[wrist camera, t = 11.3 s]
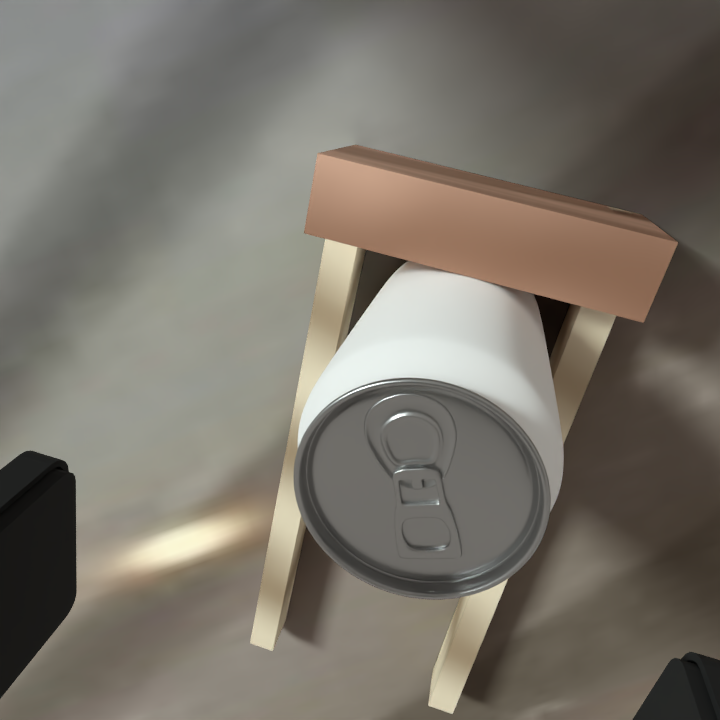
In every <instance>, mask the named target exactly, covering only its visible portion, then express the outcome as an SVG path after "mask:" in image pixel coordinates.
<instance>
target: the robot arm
mask: <svg viewBox="0 0 720 720" xmlns="http://www.w3.org/2000/svg"><path fill="white" fill-rule="evenodd" d="M75 597H76V480H75V476H74V474H73V473H70V472H69V470H68V465H67V463H66V462H65V461H63V460H60V459H57V458H53V457H50V456H47V455H43V454H40V453H37V452H34V451H26V452H24V453H22V454H20V455H19V456H18V457H16V458H15V459H14V460H12V461H11V462H10V463H9V464H7V465H6V466H5V467H3V468H2V469H1V470H0V698H1V697H2V696H3V694H4V693H5V692H6V691H7V690H8V688H9V687H10V686H11V685H12V683H13V682H14V681H15V680H16V678H17V677H18V676H19V675H20V673H21V672H22V671H23V670H24V668H25V667H26V666H27V665H28V663H29V662H30V661H31V660H32V659H33V657H34V656H35V655H36V654H37V652H38V651H39V650H40V649H41V647H42V646H43V645H44V644H45V642H46V641H47V640H48V639H49V637H50V636H51V635H52V634H53V632H54V631H55V630H56V629H57V628H58V626H59V625H60V624H61V623H62V621H63V620H64V619H65V618H66V616H67V615H68V613H69V612H70V610H71V608H72V606H73V604H74V601H75ZM633 720H720V660H717V659H714V658H710V657H707V656H704V655H700V654H697V653H693V652H689V653H687V654H685V655H684V657H683V658H682V659H677V658H674V659H672V660H671V661H670V662H669V663H668V665H667V666H666V668H665V670H664V671H663V673H662V674H661V676H660V677H659V679H658V680H657V682H656V684H655V685H654V687H653V688H652V690H651V691H650V693H649V695H648V696H647V698H646V699H645V701H644V702H643V704H642V706H641V707H640V709H639V710H638V712H637V713H636V715H635V717H634V718H633Z"/></svg>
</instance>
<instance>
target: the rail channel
mask: <svg viewBox="0 0 720 720" xmlns="http://www.w3.org/2000/svg"><path fill="white" fill-rule="evenodd" d="M304 233H305V234H309V235H313V236H317V237H320V238H324V239H325V244H324V249H323V255H322V260H321V265H320V271H319V276H318V281H317V287H316V292H315V298H314V303H313V308H312V314H311V319H310V324H309V330H308V335H307V340H306V346H305V351H304V357H303V362H302V367H301V373H300V378H299V383H298V389H297V394H296V400H295V405H294V410H293V416H292V421H291V426H290V432H289V437H288V442H287V448H286V453H285V459H284V464H283V469H282V475H281V480H280V485H279V491H278V496H277V501H276V507H275V512H274V518H273V523H272V528H271V534H270V539H269V544H268V550H267V555H266V561H265V566H264V571H263V577H262V582H261V587H260V593H259V598H258V603H257V609H256V614H255V620H254V625H253V630H252V636H251V641H250V643H251V644H254V645H257V646H260V647H263V648H265V649H268V650H271V651H273V649H274V647H275V644H276V642H277V640H278V637H279V635H280V633H281V630H282V628H283V626H284V623H285V621H286V617H287V612H288V608H289V603H290V599H291V594H292V589H293V585H294V580H295V575H296V571H297V566H298V562H299V557H300V552H301V548H302V543H303V538H304V534H305V529H306V525H305V523H304V521H303V519H302V516H301V514H300V511H299V508H298V505H297V501H296V497H295V491H294V481H293V474H294V463H295V458H296V453H297V450H298V430H299V424H300V419H301V415H302V412H303V409H304V407H305V404H306V402H307V399H308V397H309V395H310V393H311V391H312V389H313V387H314V386H315V384H316V382H317V381H318V379H319V378H320V376H321V374H322V373H323V371H324V370H325V368H326V367H327V365H328V364H329V362H330V361H331V359H332V358H333V357H334V355H335V354H336V352H337V351H338V349H339V348H340V346H341V345H342V344H343V342H344V341H345V339H346V338H347V335H348V330H349V326H350V321H351V316H352V312H353V307H354V303H355V298H356V293H357V289H358V284H359V279H360V275H361V270H362V266H363V261H364V256H365V252H366V250H370V251H374V252H377V253H381V254H385V255H389V256H392V257H396V258H400V259H404V260H408V261H411V262H415V263H419V264H423V265H427V266H430V267H434V268H438V269H442V270H446V271H449V272H453V273H457V274H461V275H464V276H468V277H472V278H476V279H480V280H483V281H487V282H491V283H495V284H499V285H502V286H506V287H510V288H514V289H518V290H521V291H525V292H529V293H533V294H536V295H540V296H544V297H548V298H552V299H555V300H559V301H563V302H567V303H570V305H569V308H568V311H567V314H566V316H565V319H564V322H563V324H562V327H561V330H560V332H559V335H558V338H557V340H556V343H555V346H554V348H553V351H552V354H551V356H550V359H549V362H550V368H551V373H552V379H553V384H554V390H555V396H556V401H557V407H558V413H559V419H560V426H561V432H562V441H563V444H564V442H565V439H566V437H567V435H568V432H569V430H570V427H571V425H572V422H573V420H574V418H575V415H576V413H577V410H578V408H579V405H580V403H581V400H582V398H583V396H584V393H585V391H586V388H587V386H588V383H589V381H590V379H591V376H592V374H593V371H594V369H595V366H596V364H597V362H598V359H599V357H600V354H601V352H602V349H603V347H604V345H605V342H606V340H607V337H608V335H609V332H610V330H611V328H612V325H613V323H614V320H615V318H616V316H620V317H624V318H627V319H631V320H635V321H639V322H643V323H644V321H645V318H646V316H647V314H648V311H649V309H650V307H651V305H652V302H653V300H654V298H655V295H656V293H657V291H658V288H659V286H660V284H661V281H662V279H663V277H664V275H665V272H666V270H667V268H668V265H669V263H670V261H671V258H672V256H673V254H674V251H675V249H676V247H677V245H678V242H677V241H676V240H674V239H673V238H672V237H671V236H669V235H668V234H667V233H665V232H664V231H663V230H661V229H660V228H659V227H657V226H656V225H655V224H653V223H652V222H651V221H650V220H648V219H647V218H646V217H644V216H643V215H642V214H638V213H634V212H630V211H626V210H622V209H618V208H613V207H609V206H605V205H601V204H597V203H593V202H589V201H585V200H581V199H576V198H572V197H568V196H564V195H560V194H556V193H552V192H548V191H544V190H540V189H535V188H531V187H527V186H523V185H519V184H515V183H511V182H507V181H503V180H498V179H494V178H490V177H486V176H482V175H478V174H474V173H470V172H466V171H462V170H457V169H453V168H449V167H445V166H441V165H437V164H433V163H429V162H425V161H420V160H416V159H412V158H408V157H404V156H400V155H396V154H392V153H388V152H383V151H379V150H375V149H371V148H367V147H363V146H359V145H352V146H348V147H343V148H339V149H335V150H330V151H326V152H321V153H318V154H317V160H316V166H315V172H314V178H313V184H312V189H311V195H310V201H309V207H308V213H307V219H306V225H305V230H304ZM507 580H508V579H507ZM507 580H505V581H503V582H502V583H500V584H498V585H496V586H494V587H492V588H490V589H488V590H485V591H482V592H480V593H476V594H473V595H469V596H465V597H460V600H459V602H458V605H457V608H456V610H455V613H454V616H453V618H452V621H451V624H450V626H449V629H448V632H447V634H446V637H445V640H444V642H443V645H442V648H441V650H440V653H439V656H438V658H437V661H436V664H435V666H434V669H433V673H432V681H431V689H430V696H429V704H428V706H431V707H434V708H437V709H440V710H442V711H445V712H448V713H451V714H453V712H454V709H455V707H456V704H457V702H458V699H459V697H460V695H461V692H462V690H463V687H464V685H465V682H466V680H467V678H468V675H469V673H470V670H471V668H472V665H473V663H474V661H475V658H476V656H477V653H478V651H479V648H480V646H481V644H482V641H483V639H484V636H485V634H486V631H487V629H488V627H489V624H490V622H491V619H492V617H493V614H494V612H495V610H496V607H497V605H498V602H499V600H500V597H501V595H502V593H503V590H504V588H505V585H506V583H507Z"/></svg>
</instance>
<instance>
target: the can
mask: <svg viewBox="0 0 720 720" xmlns="http://www.w3.org/2000/svg"><path fill="white" fill-rule="evenodd" d="M563 463H564V451H563V441H562V432H561V426H560V419H559V413H558V407H557V401H556V396H555V390H554V384H553V379H552V373H551V368H550V362H549V357H548V351H547V346H546V340H545V335H544V330H543V325H542V320H541V316H540V311H539V308H538V304H537V301H536V299H535V296H534V294H533V293H529V292H525V291H521V290H518V289H514V288H510V287H506V286H502V285H499V284H495V283H491V282H487V281H483V280H480V279H476V278H472V277H468V276H464V275H461V274H457V273H453V272H449V271H446V270H442V269H438V268H434V267H430V266H427V265H423V264H419V263H415V262H411V261H407V262H406V263H405V264H403V265H402V266H401V267H400V268H399V269H397V270H396V271H395V272H394V273H393V275H392V276H391V277H390V278H389V279H388V281H387V282H386V283H385V284H384V286H383V287H382V288H381V290H380V291H379V293H378V294H377V295H376V297H375V298H374V300H373V301H372V302H371V304H370V305H369V307H368V308H367V309H366V311H365V312H364V314H363V315H362V316H361V318H360V319H359V321H358V322H357V324H356V325H355V326H354V328H353V329H352V331H351V332H350V334H349V335H348V336H347V338H346V339H345V341H344V342H343V344H342V345H341V346H340V348H339V349H338V351H337V352H336V354H335V355H334V357H333V358H332V359H331V361H330V362H329V364H328V365H327V367H326V368H325V370H324V371H323V373H322V374H321V376H320V378H319V379H318V381H317V382H316V384H315V386H314V387H313V389H312V391H311V393H310V395H309V397H308V399H307V402H306V404H305V407H304V409H303V412H302V415H301V419H300V424H299V430H298V450H297V453H296V458H295V463H294V474H293V481H294V491H295V497H296V501H297V505H298V508H299V511H300V514H301V516H302V519H303V521H304V523H305V525H306V527H307V528H308V530H309V532H310V533H311V535H312V537H313V538H314V539H315V541H316V542H317V543H318V545H319V546H320V547H321V548H322V549H323V551H324V552H325V553H326V554H327V555H328V556H329V557H330V558H331V559H332V560H333V561H335V562H336V563H337V564H338V565H339V566H341V567H342V568H343V569H344V570H346V571H347V572H349V573H350V574H352V575H353V576H355V577H356V578H358V579H360V580H362V581H364V582H366V583H368V584H370V585H372V586H374V587H376V588H379V589H381V590H384V591H387V592H390V593H393V594H397V595H401V596H406V597H411V598H419V599H453V598H460V597H465V596H469V595H473V594H476V593H480V592H482V591H485V590H488V589H490V588H492V587H494V586H496V585H498V584H500V583H502V582H503V581H505V580H507V579H508V578H510V577H511V576H512V575H514V574H515V573H516V572H517V571H518V570H519V569H521V568H522V567H523V566H524V565H525V564H526V563H527V561H528V560H529V559H530V558H531V557H532V555H533V554H534V552H535V551H536V549H537V548H538V546H539V544H540V542H541V540H542V538H543V536H544V533H545V531H546V528H547V524H548V520H549V515H550V512H551V510H552V508H553V506H554V504H555V502H556V499H557V496H558V494H559V490H560V487H561V482H562V476H563Z"/></svg>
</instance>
